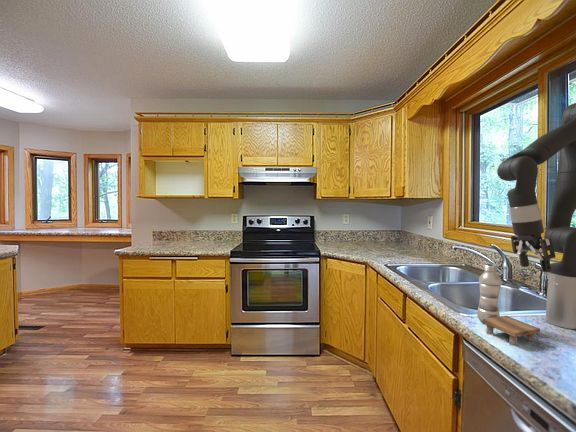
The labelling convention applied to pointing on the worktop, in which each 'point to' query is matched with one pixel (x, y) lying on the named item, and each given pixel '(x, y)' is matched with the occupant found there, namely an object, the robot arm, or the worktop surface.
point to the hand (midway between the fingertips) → (535, 268)
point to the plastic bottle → (489, 293)
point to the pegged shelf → (511, 328)
